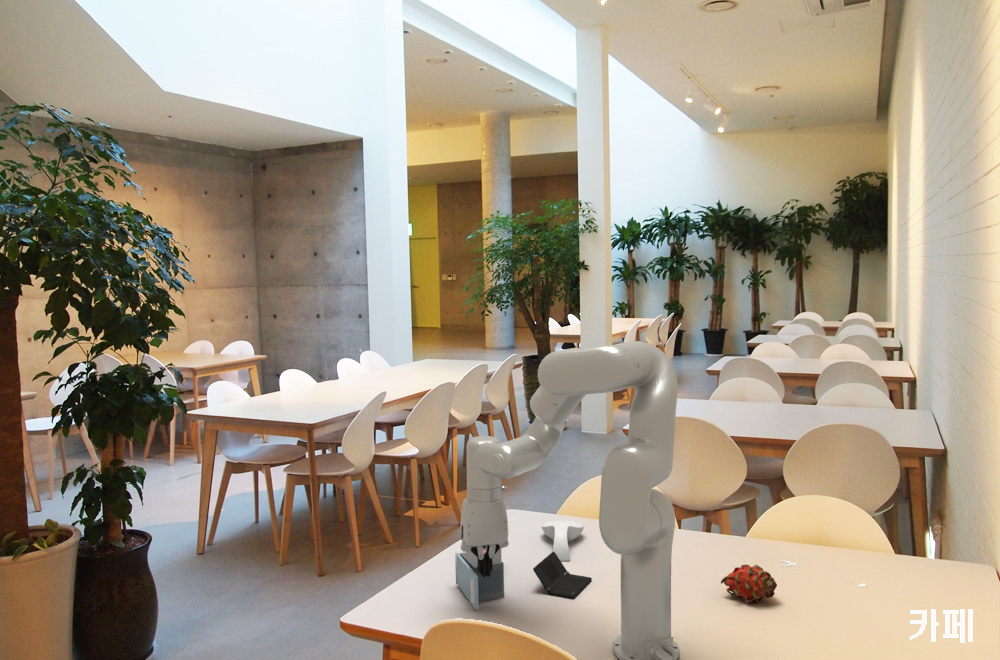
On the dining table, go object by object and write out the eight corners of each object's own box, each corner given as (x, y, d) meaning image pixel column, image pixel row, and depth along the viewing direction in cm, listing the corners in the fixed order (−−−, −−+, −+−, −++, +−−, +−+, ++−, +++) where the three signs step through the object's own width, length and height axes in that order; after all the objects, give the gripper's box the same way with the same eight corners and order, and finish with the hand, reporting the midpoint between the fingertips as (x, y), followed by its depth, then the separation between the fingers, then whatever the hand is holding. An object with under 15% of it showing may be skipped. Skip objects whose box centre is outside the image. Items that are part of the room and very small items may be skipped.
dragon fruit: (781, 612, 168) (725, 612, 173) (779, 578, 175) (725, 579, 179) (775, 590, 164) (717, 590, 168) (773, 556, 170) (718, 557, 175)
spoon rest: (542, 531, 220) (542, 507, 220) (583, 532, 219) (583, 507, 219) (539, 562, 197) (538, 534, 196) (585, 563, 196) (585, 535, 195)
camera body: (504, 597, 175) (503, 560, 174) (475, 603, 172) (474, 565, 172) (486, 580, 185) (485, 545, 185) (459, 584, 183) (458, 549, 182)
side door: (479, 608, 167) (478, 576, 167) (473, 609, 167) (472, 577, 166) (459, 582, 182) (458, 552, 181) (453, 583, 182) (453, 553, 181)
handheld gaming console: (584, 593, 172) (555, 551, 175) (556, 612, 174) (528, 570, 177) (595, 580, 185) (568, 540, 187) (569, 598, 186) (542, 558, 189)
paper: (756, 582, 182) (756, 578, 182) (747, 556, 199) (747, 552, 199) (870, 588, 177) (870, 584, 177) (850, 561, 194) (850, 557, 194)
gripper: (511, 485, 175) (511, 564, 176) (447, 491, 170) (448, 572, 172) (521, 494, 168) (522, 576, 169) (455, 501, 163) (456, 585, 165)
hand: (485, 574), depth 170 cm, fingers closed
